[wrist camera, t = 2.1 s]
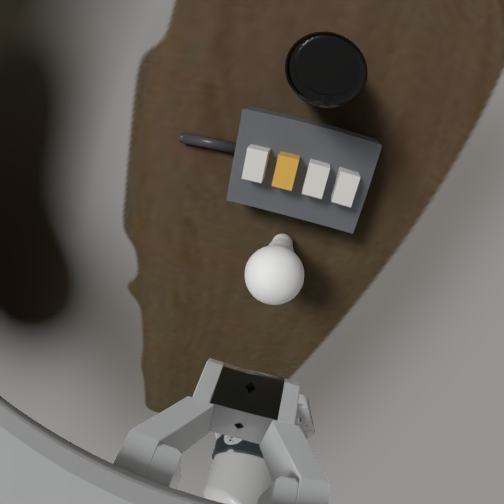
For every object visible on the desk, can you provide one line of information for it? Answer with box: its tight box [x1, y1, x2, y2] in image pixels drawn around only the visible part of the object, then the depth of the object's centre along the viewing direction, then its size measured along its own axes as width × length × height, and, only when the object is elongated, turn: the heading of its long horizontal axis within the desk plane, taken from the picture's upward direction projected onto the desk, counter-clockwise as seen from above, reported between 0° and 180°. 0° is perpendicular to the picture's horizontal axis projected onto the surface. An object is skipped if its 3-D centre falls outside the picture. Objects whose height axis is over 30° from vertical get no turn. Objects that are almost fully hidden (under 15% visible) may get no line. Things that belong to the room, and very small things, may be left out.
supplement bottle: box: [285, 32, 368, 108], centre depth 24 cm, size 7×7×12 cm
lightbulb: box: [245, 234, 304, 305], centre depth 35 cm, size 6×6×11 cm
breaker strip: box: [179, 106, 382, 234], centre depth 33 cm, size 22×10×6 cm, turn 79°
